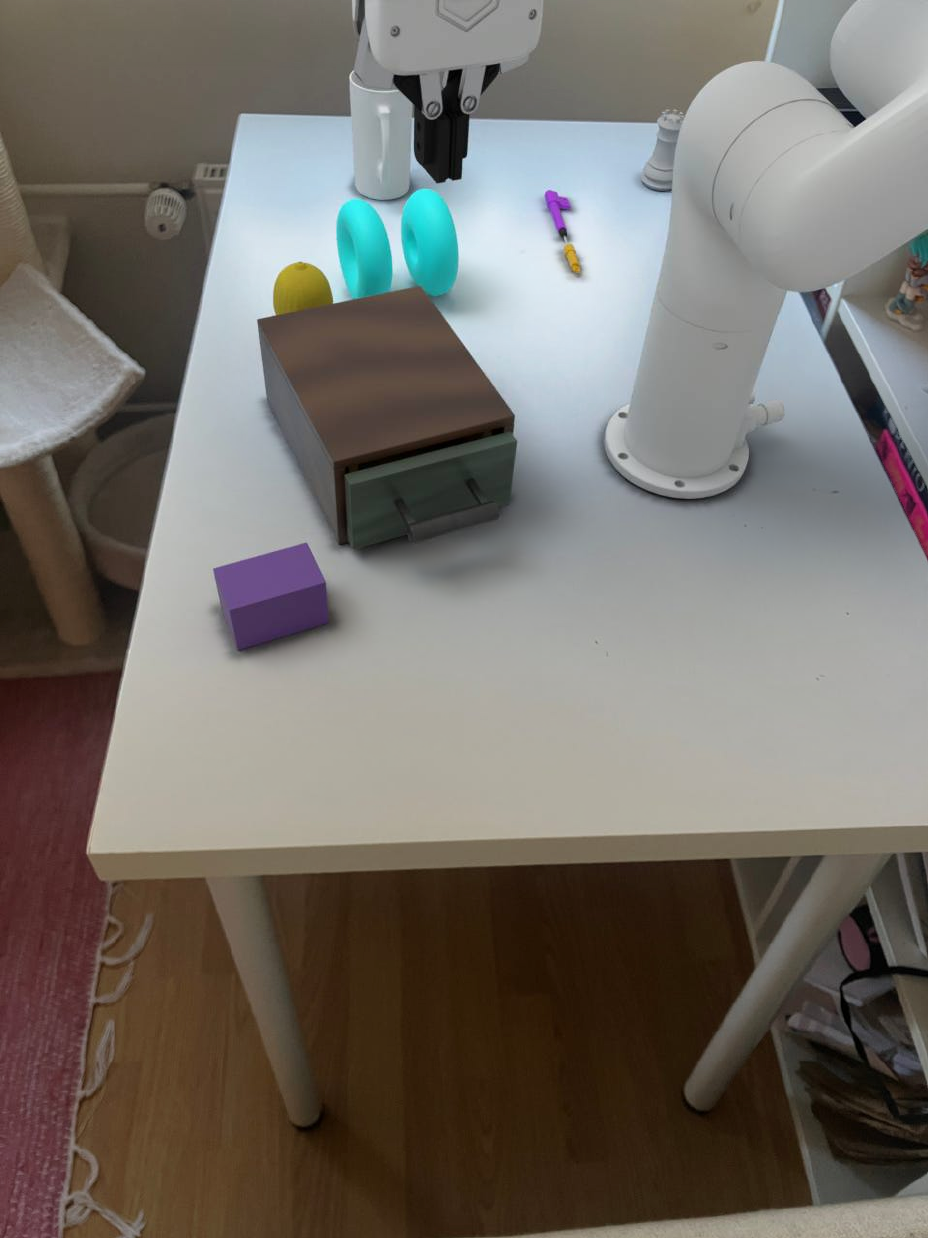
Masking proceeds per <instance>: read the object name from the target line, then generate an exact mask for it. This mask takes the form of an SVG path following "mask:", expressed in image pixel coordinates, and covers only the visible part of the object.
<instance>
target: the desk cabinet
mask: <svg viewBox="0 0 928 1238" xmlns="http://www.w3.org/2000/svg"><path fill="white" fill-rule="evenodd" d="M256 322H257V323H256V324H257V331H258V340H259V347H260V356H261V363H262V373H263V380H264V381H263V382H264V388H265V396H266V402H267V406H268V407H269V409H270V412H271V413H272V415H273V417H274V419H275V421H276V423H277V425H278V427H279V429H280V431H281V433H282V435H283V437H284V439H285V441H286V443H287V445H288V447H289V450H290V451H291V453H292V455H293V457H294V459H295V461H296V463H297V465H298V467H299V469H300V471H301V473H302V474H303V477H304V479H305V481H306V483H307V484H308V485H307V486H309V489H310V491H311V493H312V496H313V497H314V498H315V501H316V503H317V505H318V506H319V508H320V510H321V512H322V513H321V514H323V516H324V519H325V520H326V523H327V525H328V526H329V529H330V530H331V532H332V535H333V536H334V539H335V540H336V542H337V544H338V545H343V544H347V543H349V541H348V532H347V513H346V494H345V474H346V473H345V467H349V466H353V465H357V464H361V463H364V462H368V461H372V460H376V459H380V458H384V457H388V456H392V455H396V454H399V453H403V452H407V451H411V450H415V449H419V448H423V447H427V446H430V445H434V444H438V443H442V442H446V441H450V440H454V439H458V438H461V437H465V436H469V435H473V434H477V433H481V432H485V431H489V430H492V436H495V435H498V434H502V433H506V432H510V431H511V433H512V434H513V435H514V430H515V421H516V415H515V413H514V412H513V411H512V409H511V408H510V406H509V404H508V403H507V402H506V401H505V399H504V398H503V397H502V395H501V394H500V392H499V391H498V390H497V388H496V387H495V385H494V384H493V382H491V380H490V379H489V377H488V376H487V375H486V373H485V372H484V371H483V369H482V367H481V366H480V365H479V364H478V362H477V361H476V359H475V358H474V357H473V355H472V354H471V352H470V351H469V349H468V348H467V347H466V346H465V344H464V343H463V341H462V340H461V339H460V338H459V336H458V335H457V333H456V332H455V330H454V329H453V328H452V326H451V325H450V324H449V322H448V321H447V320H446V318H445V317H444V315H443V314H442V312H441V311H440V310H439V308H438V307H437V306H436V304H435V303H434V301H433V300H432V299H431V297H430V295H429V294H427V293H426V292H425V291H424V289H423V288H422V287H421V286H417V285H416V286H413V287H408V288H407V287H406V288H403V289H402V288H401V289H397V290H393V291H392V290H391V291H389V292H387V293H382V294H378V295H373V296H368V297H363V298H358V299H354V298H352V299H349V300H344V301H340V302H335V303H334V302H333V304H329V305H324V306H319V307H314V308H309V309H305V310H300V311H295V312H290V313H285V314H280V315H276V314H274V315H271V316H265V317H261V318H257V319H256Z"/></svg>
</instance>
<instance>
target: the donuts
mask: <svg viewBox="0 0 928 1238" xmlns="http://www.w3.org/2000/svg"><path fill="white" fill-rule="evenodd" d="M335 227H336V232H335V234H336V245H337V254H338V259H339V260H338V261H339V265H340V268H341V272H342V276H343V279H344V283H345V285H346V287H347V290H348V292H349V294H350V296H351V297H352V299H358V298H363V297H368V296H373V295H378V294H382V293H387V292H390V290H391V286H392V281H393V256H392V250H391V244H390V238H389V236H388V233H387V229H386V226H385V224H384V222H383V220H382V218H381V216H380V214H379V213H378V211H377V210H376V209H375V207H374V206H372V205H371V203H369V202H367V201H366V200H364V199H360V198H352V199H351V198H350V199H348V200H347V201H345V202H344V203H343V204H342V205H341V207H340V209H339V211H338V213H337V217H336V226H335ZM400 237H401V238H400V239H401V247H402V251H403V257H404V260H405V264H406V267H407V270H408V272H409V275H410V276H411V279H412V280H413V281H414V283H415V284H416V287H417V286H421V287H422V288H423V289H424V291H425V292H426V293H427V295H428V296H433V297H438V296H439V297H440V296H442V295H445V294H446V293H448V292H449V291H450V290H451V289H452V288H453V286H454V284H455V282H456V279H457V275H458V271H459V261H460V260H459V258H460V256H459V242H458V235H457V229H456V226H455V221H454V218H453V216H452V212H451V211H450V208H449V206H448V203H447V202H446V200H445V199H444V198H443V196H441V194H439V192H437V191H435V190H434V189H431V188H420V189H418V190H416V191H414V192H413V193H412V194H411V195H409V197H408V198H407V200H406V202H405V205H404V207H403V211H402V215H401V222H400Z"/></svg>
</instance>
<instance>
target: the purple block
mask: <svg viewBox="0 0 928 1238" xmlns="http://www.w3.org/2000/svg"><path fill="white" fill-rule="evenodd" d="M212 571H213V575H214V581H215V585H216V590H217V595H218V599H219V604H220V608H221V612H222V614H223V617H224V619H225V622H226V625H227V628H228V630H229V632H230V636H231V638H232V640H233V643H234V645H235V649H236V650H237V651H241V650H244V649H248V648H250V647H251V648H252V647H254V646H257V645H260V644H264V643H268V642H270V641H274V640H277V639H280V638H283V637H286V636H289V635H292V634H296V633H300V632H303V631H306V630H309V629H312V628H316V627H319V626H323V625H326V624H329V623H330V615H329V614H330V613H329V604H328V602H329V601H328V591H327V582H326V579H325V577H324V575H323V573H322V570H321V569H320V567H319V565H318V563H317V560H316V558H315V556H314V554H313V552H312V550H311V547H310V546H309V544H308V542H304V543H299V544H296V545H292V546H288V547H284V548H282V549H277V550H275V551H270V552H267V553H264V554H260V555H257V556H253V557H248V558H245V559H242V560H239V561H235V562H231V563H228V564H224V565H221V566H217V567H214V568H213V569H212Z"/></svg>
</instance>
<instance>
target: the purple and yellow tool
mask: <svg viewBox="0 0 928 1238" xmlns="http://www.w3.org/2000/svg"><path fill="white" fill-rule="evenodd" d="M544 199H545V202H546V205H547V208H548V209H549V211H550V214H551V216H552V220H553V222H554V225H555V228H556V231H557V234H558V235H559V237H560V238H561V239H563V240H564V242H565V246H564V247H563V253H564V255H565V258H566V259H567V261H568V264H569V267H570V269H571V270H572V271H573V273H576V274H580V273H581V269H580V267H581V265H580V262H579V259H578V257H577V251H576V248H575V246H574V245H573V244H572V243H569V242H568V239H567V237H568V228H567V226H566V224H565V221H564V218H563V215H562V212H561V210H560V209H563V210H567V211H569V210H570V208H571V204H570V202H569V199H568V197H564V196H560V195H559V194H558V191H555V190H552V189H548V190H546V191H545V193H544Z"/></svg>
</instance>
